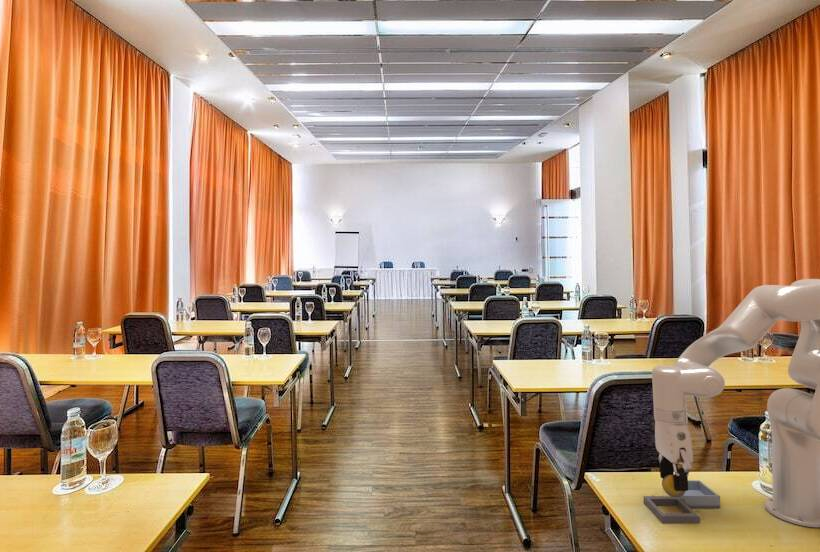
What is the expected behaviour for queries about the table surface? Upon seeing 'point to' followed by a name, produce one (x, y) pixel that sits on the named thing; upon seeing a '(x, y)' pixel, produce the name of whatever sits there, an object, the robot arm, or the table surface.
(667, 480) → the grooved yellow cone
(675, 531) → the table surface
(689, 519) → the holder panel
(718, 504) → the parts tray
